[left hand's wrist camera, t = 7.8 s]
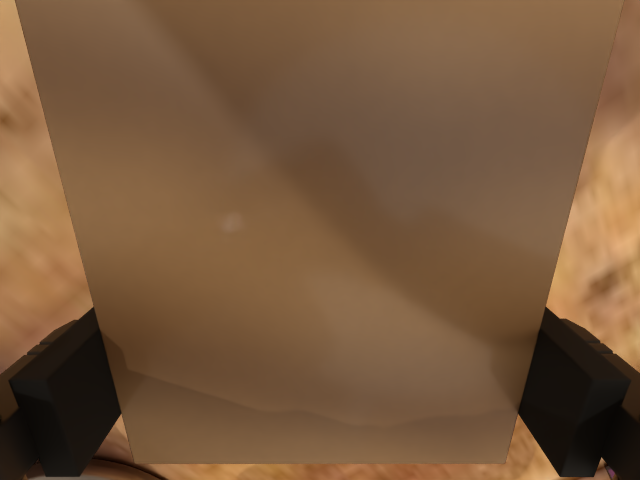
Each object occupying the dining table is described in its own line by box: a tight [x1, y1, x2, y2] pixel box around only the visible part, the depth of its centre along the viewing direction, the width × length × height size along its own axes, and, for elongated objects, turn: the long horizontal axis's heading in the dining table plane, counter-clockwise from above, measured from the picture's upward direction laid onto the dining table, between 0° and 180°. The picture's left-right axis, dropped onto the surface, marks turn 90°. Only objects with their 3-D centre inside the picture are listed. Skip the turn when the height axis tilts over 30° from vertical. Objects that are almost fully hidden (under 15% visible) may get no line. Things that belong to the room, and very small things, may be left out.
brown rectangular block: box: [15, 0, 624, 464], centre depth 11 cm, size 19×11×10 cm, turn 0°
